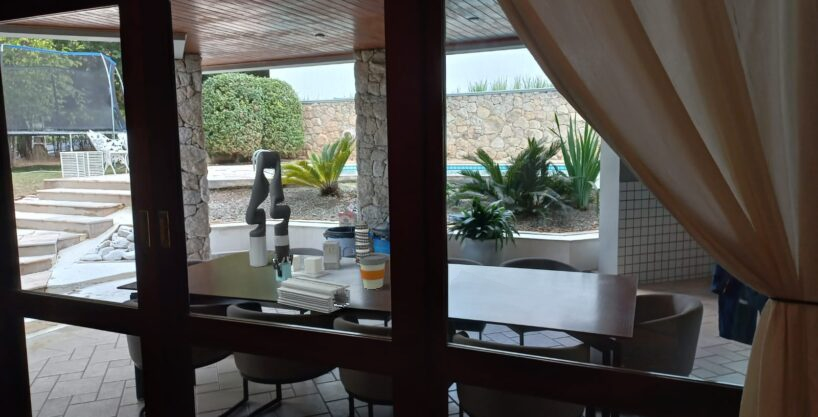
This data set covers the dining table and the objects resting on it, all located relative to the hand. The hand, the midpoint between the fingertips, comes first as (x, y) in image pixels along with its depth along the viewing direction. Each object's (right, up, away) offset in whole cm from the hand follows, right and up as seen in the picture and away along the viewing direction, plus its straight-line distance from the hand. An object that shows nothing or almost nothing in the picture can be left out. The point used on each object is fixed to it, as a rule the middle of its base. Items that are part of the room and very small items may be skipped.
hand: (283, 275), depth 291 cm
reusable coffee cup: (+48, -4, -19) cm, 52 cm away
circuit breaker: (+22, +1, +26) cm, 35 cm away
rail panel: (+7, 0, +13) cm, 15 cm away
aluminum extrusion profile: (+23, -8, -44) cm, 50 cm away
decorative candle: (+38, +3, +34) cm, 52 cm away
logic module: (0, -2, 0) cm, 2 cm away
